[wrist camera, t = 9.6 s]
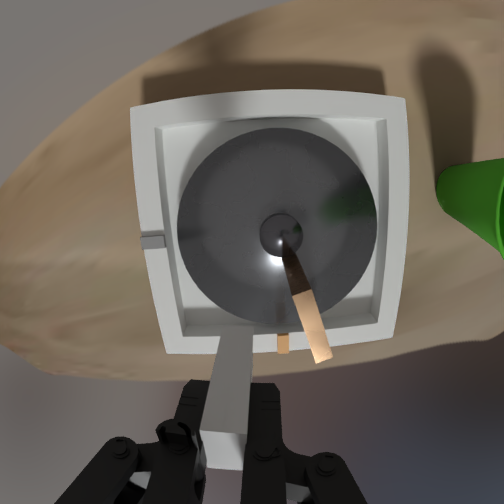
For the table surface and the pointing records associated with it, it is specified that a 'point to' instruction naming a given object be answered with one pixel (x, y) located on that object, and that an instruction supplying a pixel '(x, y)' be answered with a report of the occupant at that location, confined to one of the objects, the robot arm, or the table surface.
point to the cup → (476, 198)
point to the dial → (278, 228)
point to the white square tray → (243, 121)
